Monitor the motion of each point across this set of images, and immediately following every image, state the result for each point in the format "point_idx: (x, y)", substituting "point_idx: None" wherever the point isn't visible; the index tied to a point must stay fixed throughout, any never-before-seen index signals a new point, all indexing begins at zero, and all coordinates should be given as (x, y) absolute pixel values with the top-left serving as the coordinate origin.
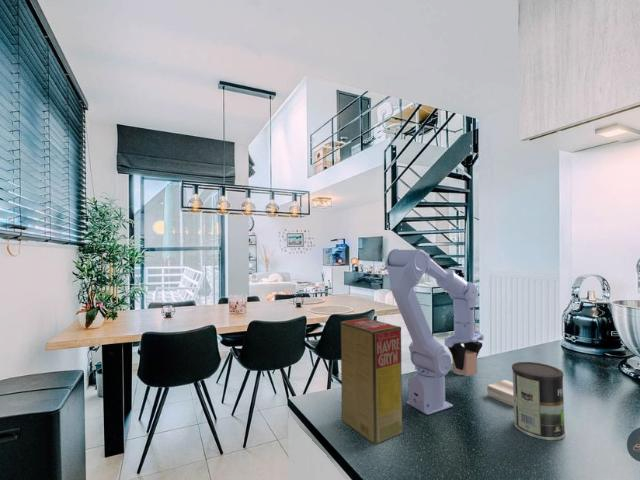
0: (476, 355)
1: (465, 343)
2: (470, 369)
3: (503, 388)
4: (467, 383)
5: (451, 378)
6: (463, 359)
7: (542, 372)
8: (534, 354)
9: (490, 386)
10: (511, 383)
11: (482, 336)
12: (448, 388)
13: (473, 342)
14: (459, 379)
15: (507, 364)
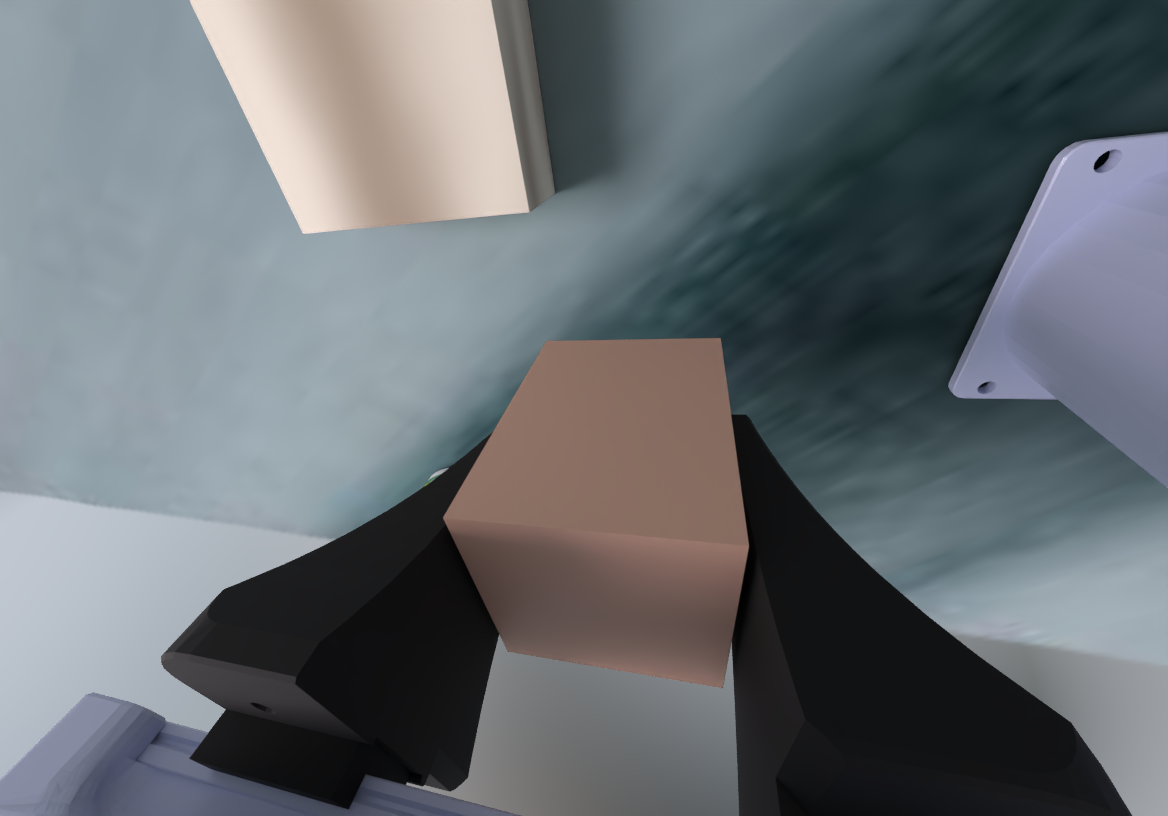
0: (466, 481)
1: (457, 737)
2: (643, 372)
3: (428, 58)
4: None
5: None
6: (759, 502)
7: None
8: (24, 450)
9: (522, 172)
10: (282, 135)
11: (8, 802)
12: None
13: (343, 745)
14: None
15: (187, 444)
